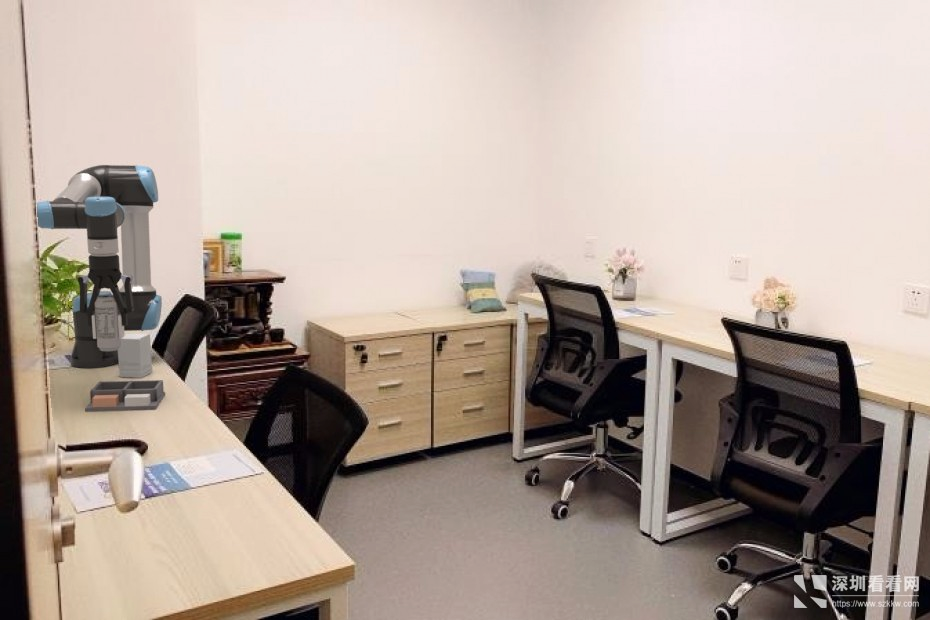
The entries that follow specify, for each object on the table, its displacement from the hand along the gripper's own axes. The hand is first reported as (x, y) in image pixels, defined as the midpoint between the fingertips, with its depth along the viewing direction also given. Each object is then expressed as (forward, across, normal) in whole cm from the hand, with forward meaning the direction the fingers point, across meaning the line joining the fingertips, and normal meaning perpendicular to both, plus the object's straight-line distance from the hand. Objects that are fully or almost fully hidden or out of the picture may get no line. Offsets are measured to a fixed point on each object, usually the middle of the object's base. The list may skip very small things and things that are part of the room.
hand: (108, 337), depth 212 cm
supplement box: (+19, 0, +27) cm, 33 cm away
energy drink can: (+4, 0, 0) cm, 4 cm away
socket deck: (+18, +4, -2) cm, 19 cm away
